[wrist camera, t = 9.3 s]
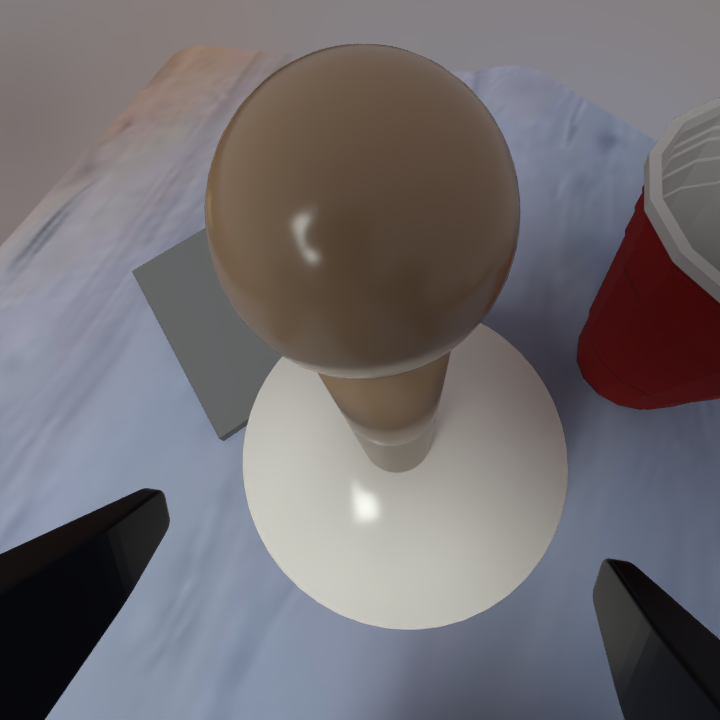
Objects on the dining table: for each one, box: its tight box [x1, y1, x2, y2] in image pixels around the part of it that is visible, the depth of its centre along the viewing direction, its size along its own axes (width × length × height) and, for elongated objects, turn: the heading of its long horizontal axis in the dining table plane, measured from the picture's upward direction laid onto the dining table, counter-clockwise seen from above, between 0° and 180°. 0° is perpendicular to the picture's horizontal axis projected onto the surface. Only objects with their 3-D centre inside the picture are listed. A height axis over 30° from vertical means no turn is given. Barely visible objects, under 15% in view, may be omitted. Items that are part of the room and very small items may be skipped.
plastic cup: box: [577, 97, 720, 410], centre depth 16 cm, size 11×11×12 cm
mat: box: [132, 228, 282, 441], centre depth 27 cm, size 16×16×1 cm
